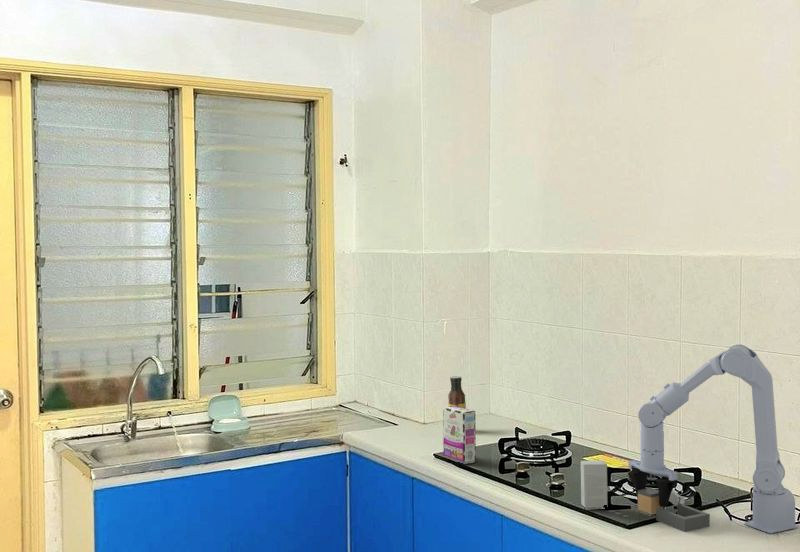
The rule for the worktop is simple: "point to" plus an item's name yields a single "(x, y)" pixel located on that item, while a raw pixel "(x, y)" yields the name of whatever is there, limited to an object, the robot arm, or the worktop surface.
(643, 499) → the plug
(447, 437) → the candy bar box
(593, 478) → the skincare box
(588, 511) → the worktop surface
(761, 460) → the robot arm
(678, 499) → the clip
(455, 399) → the sauce bottle
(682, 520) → the socket
